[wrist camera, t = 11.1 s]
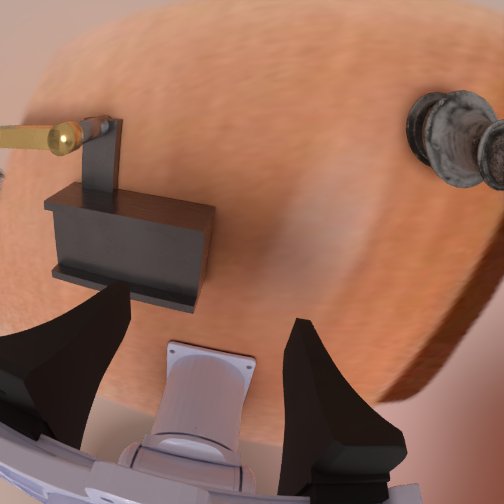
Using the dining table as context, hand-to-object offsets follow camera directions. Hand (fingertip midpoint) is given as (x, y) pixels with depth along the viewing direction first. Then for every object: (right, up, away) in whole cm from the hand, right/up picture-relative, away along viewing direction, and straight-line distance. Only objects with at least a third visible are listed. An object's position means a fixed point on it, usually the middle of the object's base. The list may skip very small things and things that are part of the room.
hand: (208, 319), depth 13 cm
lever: (-12, +10, +2) cm, 16 cm away
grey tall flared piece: (+14, +11, +5) cm, 19 cm away
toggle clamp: (-6, +7, +8) cm, 12 cm away
